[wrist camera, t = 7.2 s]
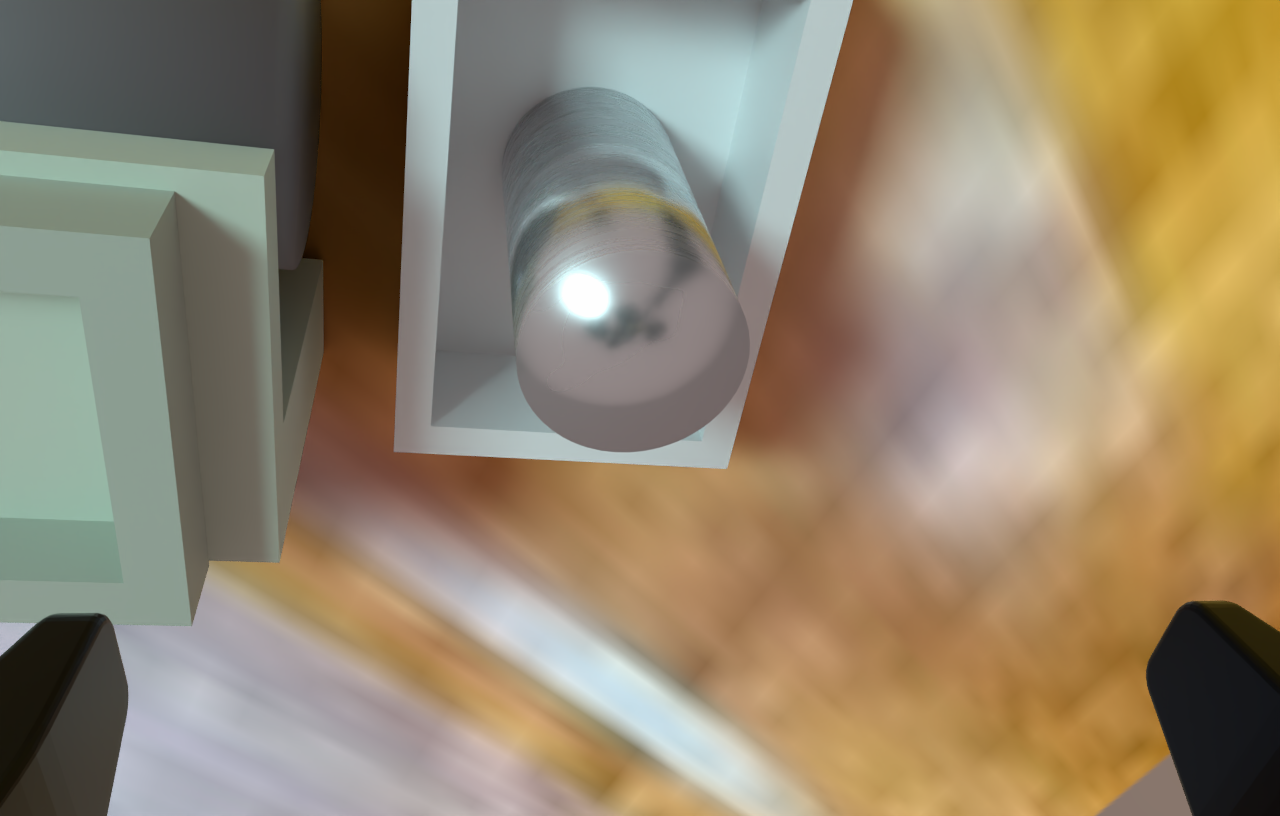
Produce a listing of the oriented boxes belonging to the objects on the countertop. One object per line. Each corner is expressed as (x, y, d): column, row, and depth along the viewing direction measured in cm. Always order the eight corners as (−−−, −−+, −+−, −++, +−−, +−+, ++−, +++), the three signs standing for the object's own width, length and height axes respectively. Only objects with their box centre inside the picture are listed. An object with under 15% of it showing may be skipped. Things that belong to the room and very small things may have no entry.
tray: (809, -90, 17) (865, -43, 15) (699, 377, 22) (726, 469, 20) (425, -151, 16) (415, -111, 13) (403, 357, 21) (393, 451, 18)
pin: (689, 99, 18) (774, 264, 13) (657, 258, 20) (721, 458, 15) (511, 75, 17) (531, 241, 12) (493, 242, 19) (504, 445, 14)
